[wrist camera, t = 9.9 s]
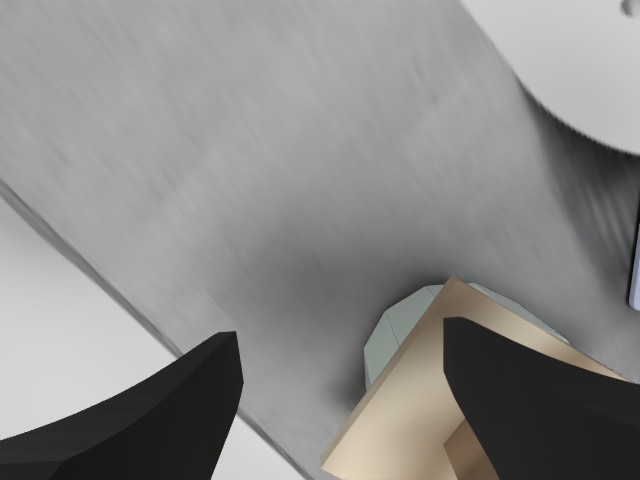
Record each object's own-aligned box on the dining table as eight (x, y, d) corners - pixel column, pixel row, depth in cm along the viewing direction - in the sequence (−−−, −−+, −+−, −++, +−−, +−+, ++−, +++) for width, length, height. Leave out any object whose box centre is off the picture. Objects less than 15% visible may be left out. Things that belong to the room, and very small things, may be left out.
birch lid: (648, 391, 17) (774, 481, 12) (499, 545, 19) (556, 670, 14) (451, 274, 15) (506, 322, 11) (320, 455, 18) (318, 558, 13)
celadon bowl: (536, 275, 20) (601, 309, 16) (526, 424, 23) (579, 495, 18) (359, 287, 21) (369, 325, 16) (367, 432, 23) (378, 504, 18)
